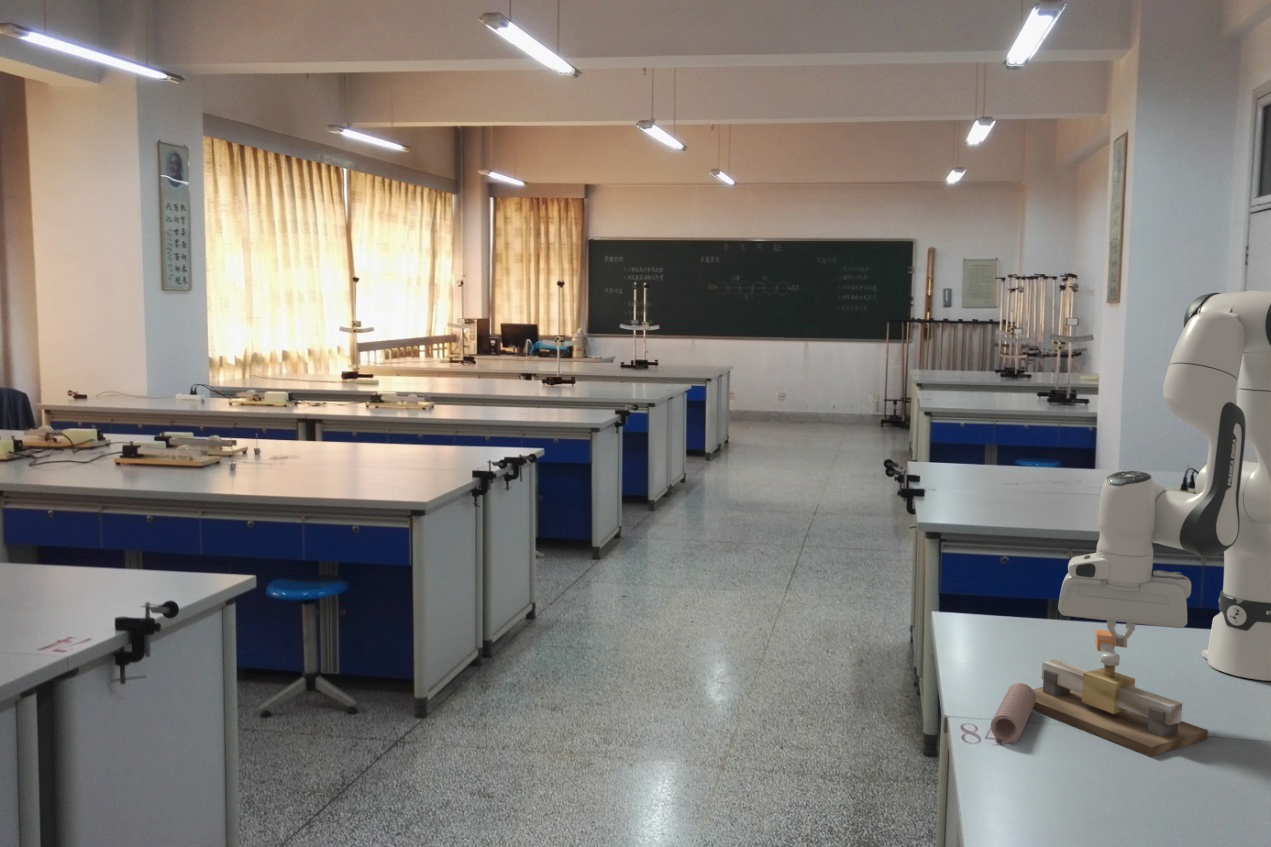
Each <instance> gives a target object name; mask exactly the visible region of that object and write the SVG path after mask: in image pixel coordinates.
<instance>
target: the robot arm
mask: <svg viewBox="0 0 1271 847" xmlns="http://www.w3.org/2000/svg"><path fill="white" fill-rule="evenodd" d="M1169 360H1170V361H1169V363H1168V367H1167V369H1166V373H1165V377H1164V381H1163V386H1162V397H1163V400H1164V402H1165V404H1166V405H1167V407H1168V409H1169V410H1170V411H1171V413H1172V414H1173V415H1174V416H1176V417H1177V418H1179V419H1180V420H1182V421H1183V422H1184V423H1187V424H1188V425H1190V426H1191V427H1193V428H1194V429H1196V430H1198V431H1200V432H1201V433H1202V434H1203V435H1204V437H1205V439H1206V440H1207V441H1206V442H1207V445H1208V447H1207V448H1208V452H1207V459H1206V464H1205V465H1204V466H1203V467H1202V468H1201V469H1200V470H1199V473H1198V475H1197V476H1196V480H1195V484H1194V489H1195V490H1194V491H1195V493H1190V492H1184V491H1180V490H1175V489H1171V488H1167V487H1164V486H1162V485H1160V484H1158V483H1156V482H1155V481H1154V479H1153V476H1152V475H1151V474H1150V473H1147V472H1144V471H1139V470H1126V471H1118V472H1114V473H1112V474H1110V475H1108V476H1107V477H1106V478H1105V479H1104V482H1103V484H1102V488H1101V491H1100V497H1099V504H1098V514H1097V515H1098V516H1097V526H1098V530H1099V538H1098V541H1097V544H1096V551H1095V552H1094V553H1088V554H1083V555H1077V556H1073V557H1072V558H1071V559H1070V560H1069V562H1068V565H1067V570H1068V571H1067V573H1066V575H1065V577H1064V579H1063V581H1062V584H1061V589H1060V593H1059V597H1058V598H1059V600H1058V606H1057V607H1058V608H1057V609H1058V611H1059V613H1060V614H1061V615H1062V616H1065V617H1073V618H1083V619H1093V620H1101V621H1106V627H1107V630H1108V631H1110V633H1111V635H1112V636H1113V637H1114V640H1115V645H1114V647H1117V648H1124V649H1125V648H1128V639H1129V638H1130V636H1131V635H1132V634H1133V633H1134V631H1135V630H1136V624H1137V625H1147V626H1155V627H1165V628H1173V629H1183V628H1185V626H1186V625H1187V624H1188V607H1187V606H1188V605H1187V600H1188V598H1190V597H1191V594H1192V581H1191V579H1189V577H1188V576H1186V575H1184V574H1183V573H1182V572H1180V571H1179V572H1178V571H1173V572H1172V571H1165V570H1158V569H1157V570H1156V569H1153V564H1154V563H1153V562H1154V547H1153V544H1152V543H1155V544H1159V545H1162V546H1165V547H1170V548H1175V549H1180V550H1184V551H1186V552H1188V553H1192V554H1195V555H1197V556H1201V557H1203V558H1213V557H1214V558H1215V557H1216V556H1218V555H1220V554H1223V555H1224V556H1223V559H1224V560H1223V562H1224V563H1223V584H1222V585H1223V586H1222V590H1220V592H1219V598H1218V610H1219V611H1220V612H1219V613H1218V614H1216V615H1215V616H1213V619H1212V622H1211V623H1212V624H1211V627H1210V628H1211V630H1210V635H1209V641H1208V647H1207V649H1203V650H1202V654H1201V656H1202V657H1203V658H1205V659H1206V660H1207V664H1208V665H1209V666H1210V667H1211V668H1214V669H1215V670H1217V671H1221V672H1223V673H1226V674H1228V675H1232V676H1235V677H1239V678H1240V677H1241V678H1246V679H1251V680H1252V679H1253V680H1258V681H1268V682H1270V681H1271V290H1257V289H1256V290H1250V289H1249V290H1245V291H1234V292H1224V293H1220V292H1213V293H1212V292H1211V293H1206V294H1203V295H1199V296H1198V297H1196V298H1195V299H1194V300H1193V301H1192V302H1191V304H1189V306H1188V307H1187V309H1186V311H1185V314H1184V317H1183V330H1182V332H1181V334H1180V335H1179V338H1178V340H1177V342H1176V345H1175V347H1174V349H1173V352H1172V355H1171V357H1170V359H1169ZM1236 387H1237V390H1236ZM1236 391H1237V392H1236ZM1236 394H1237V395H1236ZM1245 442H1247V443H1249V445H1250V446H1251V448H1252V449H1253V450H1254V453H1255V456H1256V459H1257V462H1254V461H1247V460H1244V454H1245V444H1246V443H1245ZM1117 622H1118V623H1120V622H1121V623H1125V628H1126V631H1125V632H1123V634H1118V633H1117V632H1118V631H1117V630H1116V627H1117V626H1116V625H1117Z"/></svg>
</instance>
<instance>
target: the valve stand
mask: <svg viewBox="0 0 1271 847" xmlns="http://www.w3.org/2000/svg"><path fill="white" fill-rule="evenodd" d="M1103 665H1104V664H1103ZM1041 680H1043V681H1042V682H1043V683H1042V685H1043V686H1041V687H1036V688H1032V689H1033V691H1034V693H1035V695H1036V702H1035V704H1034V707H1033V709H1032V711H1034V712H1038V713H1040V714H1043V715H1044V716H1045V715H1046V716H1048V717H1051V718H1053V719H1055V720H1058V721H1060V722H1063V723H1065V724H1068V725H1071V726H1073V727H1076V728H1078V729H1080V730H1083V731H1085V732H1088V733H1090V734H1092V735H1096V736H1097V737H1101V738H1103V739H1106V740H1109V741H1111V742H1113V743H1116V744H1118V745H1121V746H1123V747H1126V748H1128V749H1131V750H1133V751H1136V752H1138V753H1141V754H1143V755H1146V756H1149V757H1155V756H1157V755H1160V754H1161V755H1162V754H1164V753H1167V752H1170V751H1173V750H1177V749H1180V748H1183V747H1187V746H1190V745H1194V744H1196V743H1199V742H1200V743H1201V742H1203V741H1207V740H1208V736H1209V735H1208V733H1209V732H1208V731H1209V730H1208V729H1205V728H1202V727H1200V726H1197V725H1194V724H1192V723H1189V722H1186V721H1183V720H1182V716H1183V714H1182V713H1183V702H1180V701H1177V700H1173V699H1170V698H1167V697H1166V696H1161V695H1159V694H1156V693H1153V692H1151V691H1147V690H1145V689H1142V688H1139V687H1136V678H1134V677H1131V676H1127V675H1125V674H1122V673H1119V672H1117V671H1116V666H1108V665H1104V667H1102V668H1098V669H1093V670H1086V669H1083V668H1080V667H1079V666H1078V667H1077V666H1074V665H1072V664H1068V663H1067V662H1062V661H1059V660H1057V659H1051V660H1045V661H1042V666H1041Z"/></svg>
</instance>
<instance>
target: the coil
mask: <svg viewBox="0 0 1271 847" xmlns="http://www.w3.org/2000/svg"><path fill="white" fill-rule="evenodd" d="M1033 689H1034V688H1032V687H1031V686H1029V685H1028V684H1027V683H1023V682H1016V683H1013V684H1012V685H1010V686H1009V687H1008V690H1007V691H1006V693H1005V695H1004V697H1003V699H1002V701H1001V702H1000V705H999V707H998V708H997V710H996V712H995V714H994V716H993V717H992V720H991V722H990V731H991V733H992V735H993V736H994V737H995V738H996V739H997V740H998V741H1002V743H1003V744H1006V745H1012V744H1014V743H1016V742H1018V741H1019V739H1020V738H1021V735H1022V733H1023V731H1024V729H1025V727H1026V724H1027V722H1028V720H1029V718H1030V716H1031V713H1032V711H1033V710H1032V709H1033V707H1034V704H1035V702H1036V695H1035V693H1034V691H1033Z"/></svg>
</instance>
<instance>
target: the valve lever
mask: <svg viewBox="0 0 1271 847" xmlns="http://www.w3.org/2000/svg"><path fill="white" fill-rule="evenodd" d="M1094 643H1095V646H1096V650H1097V652H1101V654H1100V664H1102V665H1108V666H1115V667H1117V666H1120V660H1121V658H1120V657H1121V655H1120V654H1118V653H1116V652H1115V646H1114V645H1115V640H1114V637H1113V636H1112V635H1111V633H1110V631H1109V630H1104V629H1095V630H1094Z"/></svg>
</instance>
